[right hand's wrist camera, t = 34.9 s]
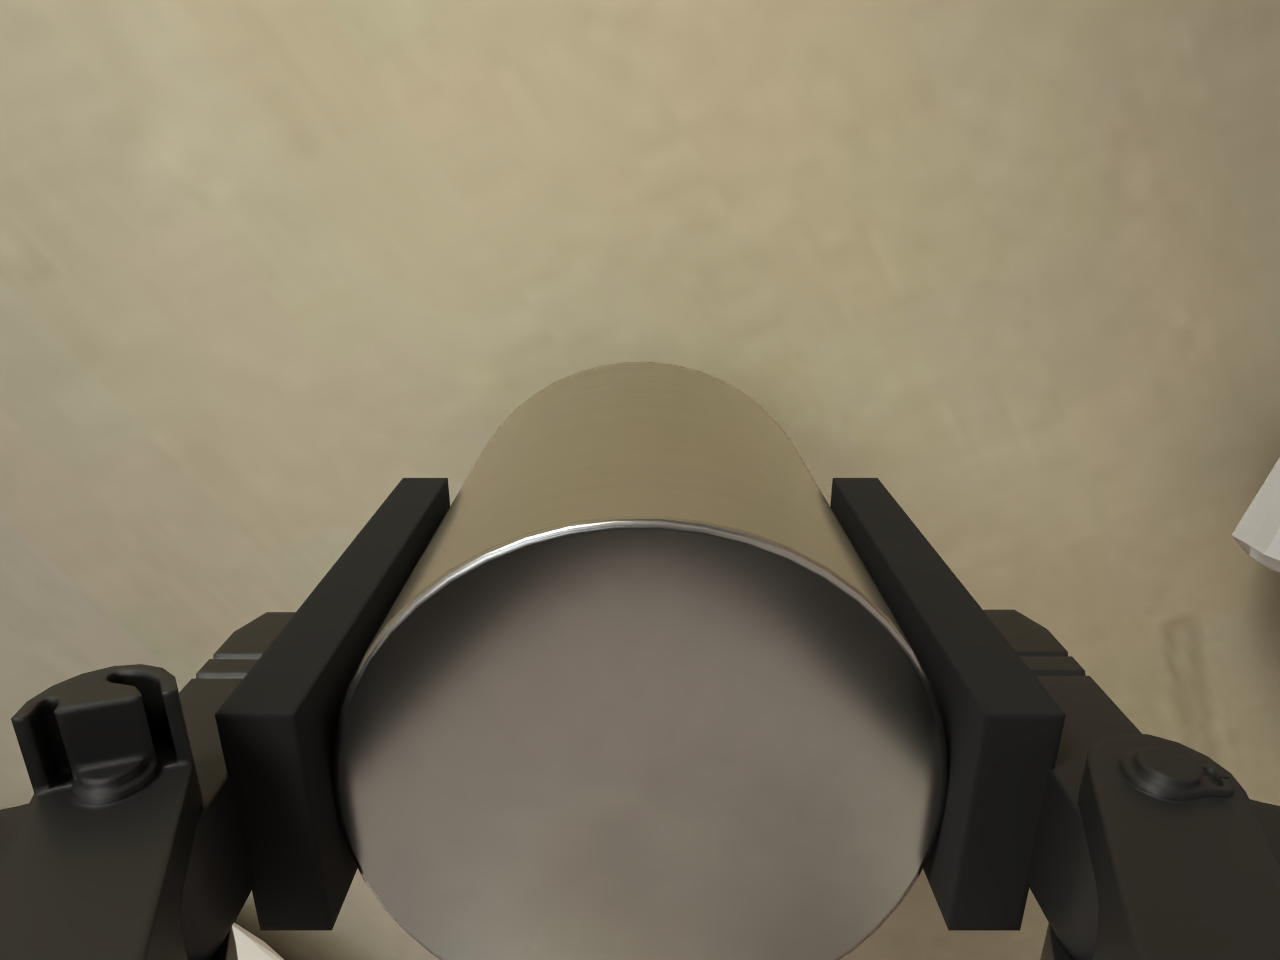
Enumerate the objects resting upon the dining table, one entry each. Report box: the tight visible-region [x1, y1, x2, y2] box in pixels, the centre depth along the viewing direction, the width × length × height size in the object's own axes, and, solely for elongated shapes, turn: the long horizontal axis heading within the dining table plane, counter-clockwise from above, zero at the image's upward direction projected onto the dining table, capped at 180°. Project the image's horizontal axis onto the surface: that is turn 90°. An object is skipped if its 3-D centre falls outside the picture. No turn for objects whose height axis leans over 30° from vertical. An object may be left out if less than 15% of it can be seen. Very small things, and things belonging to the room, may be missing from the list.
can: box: [333, 362, 948, 960], centre depth 12 cm, size 6×6×7 cm
